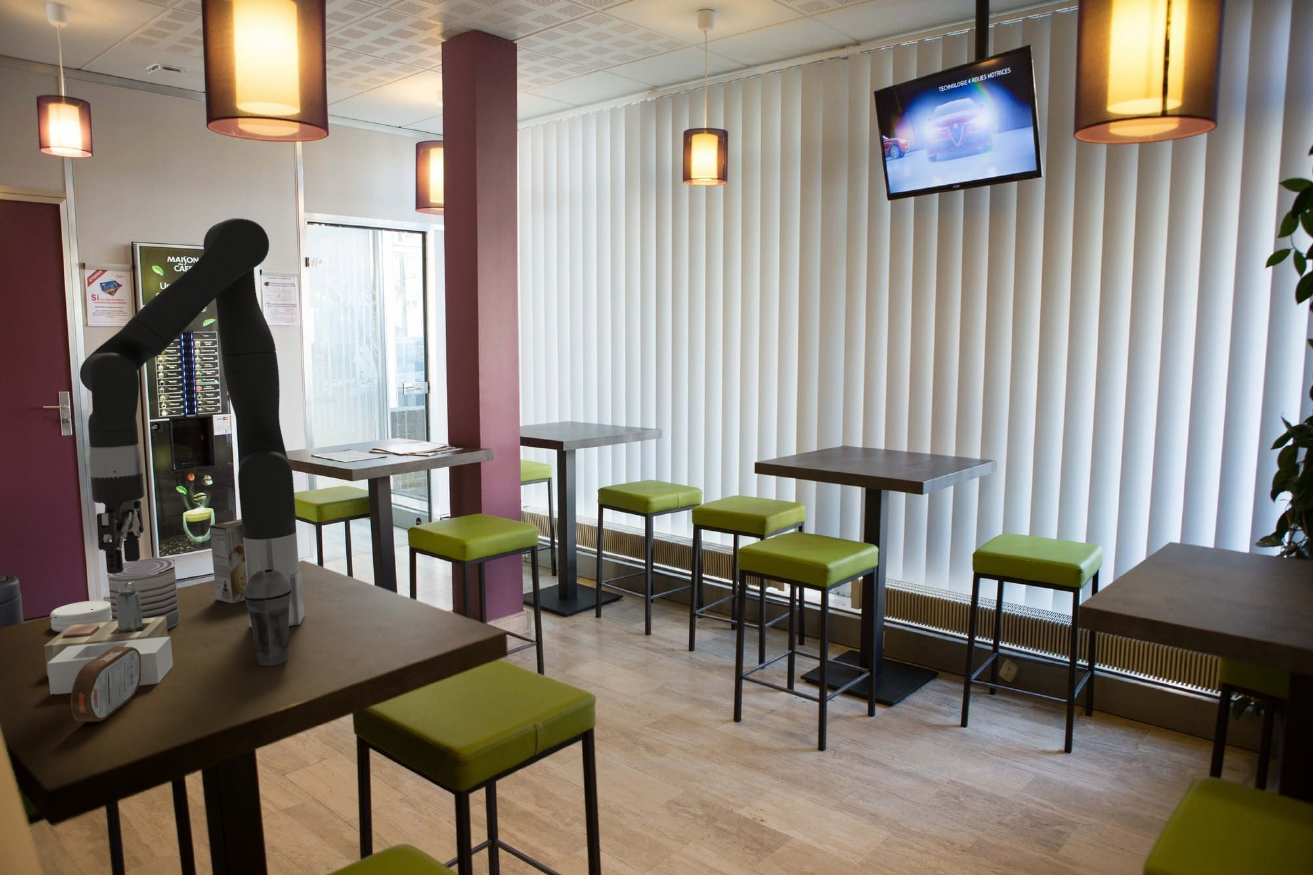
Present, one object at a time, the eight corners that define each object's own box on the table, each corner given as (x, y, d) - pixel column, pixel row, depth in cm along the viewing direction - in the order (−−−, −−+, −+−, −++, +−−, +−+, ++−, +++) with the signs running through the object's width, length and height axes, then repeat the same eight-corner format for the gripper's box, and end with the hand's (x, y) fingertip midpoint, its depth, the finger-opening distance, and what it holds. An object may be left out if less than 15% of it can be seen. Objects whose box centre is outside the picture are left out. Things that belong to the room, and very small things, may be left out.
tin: (126, 690, 136) (121, 637, 135) (148, 689, 136) (143, 636, 135) (70, 733, 121) (64, 674, 120) (94, 732, 121) (88, 673, 120)
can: (194, 618, 172) (189, 558, 171) (151, 637, 161) (145, 573, 160) (143, 616, 174) (137, 557, 173) (97, 635, 163) (91, 572, 162)
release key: (101, 650, 152) (98, 625, 151) (92, 658, 148) (90, 632, 147) (75, 653, 151) (72, 627, 150) (65, 661, 147) (63, 635, 146)
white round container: (47, 636, 164) (45, 618, 163) (55, 622, 173) (53, 604, 172) (110, 627, 168) (108, 609, 168) (115, 613, 177) (113, 596, 177)
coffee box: (255, 588, 192) (249, 516, 190) (272, 592, 189) (267, 519, 187) (214, 599, 184) (208, 524, 183) (232, 604, 181) (226, 527, 179)
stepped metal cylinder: (148, 651, 153) (141, 579, 152) (141, 659, 150) (134, 584, 148) (125, 654, 152) (118, 581, 151) (118, 661, 149) (110, 586, 147)
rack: (173, 665, 146) (170, 636, 146) (158, 683, 138) (155, 652, 138) (71, 675, 143) (68, 646, 142) (50, 694, 135) (47, 663, 134)
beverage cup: (306, 655, 149) (297, 540, 147) (274, 671, 143) (265, 550, 140) (271, 651, 152) (263, 537, 150) (239, 666, 145) (229, 547, 143)
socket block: (168, 643, 157) (166, 616, 157) (149, 665, 147) (146, 636, 146) (73, 652, 154) (71, 625, 153) (47, 675, 143) (44, 645, 143)
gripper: (127, 477, 142) (134, 575, 143) (154, 465, 155) (161, 555, 157) (74, 479, 140) (83, 579, 142) (107, 467, 154) (114, 558, 155)
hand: (124, 566), depth 149 cm, fingers open, 8 cm apart
